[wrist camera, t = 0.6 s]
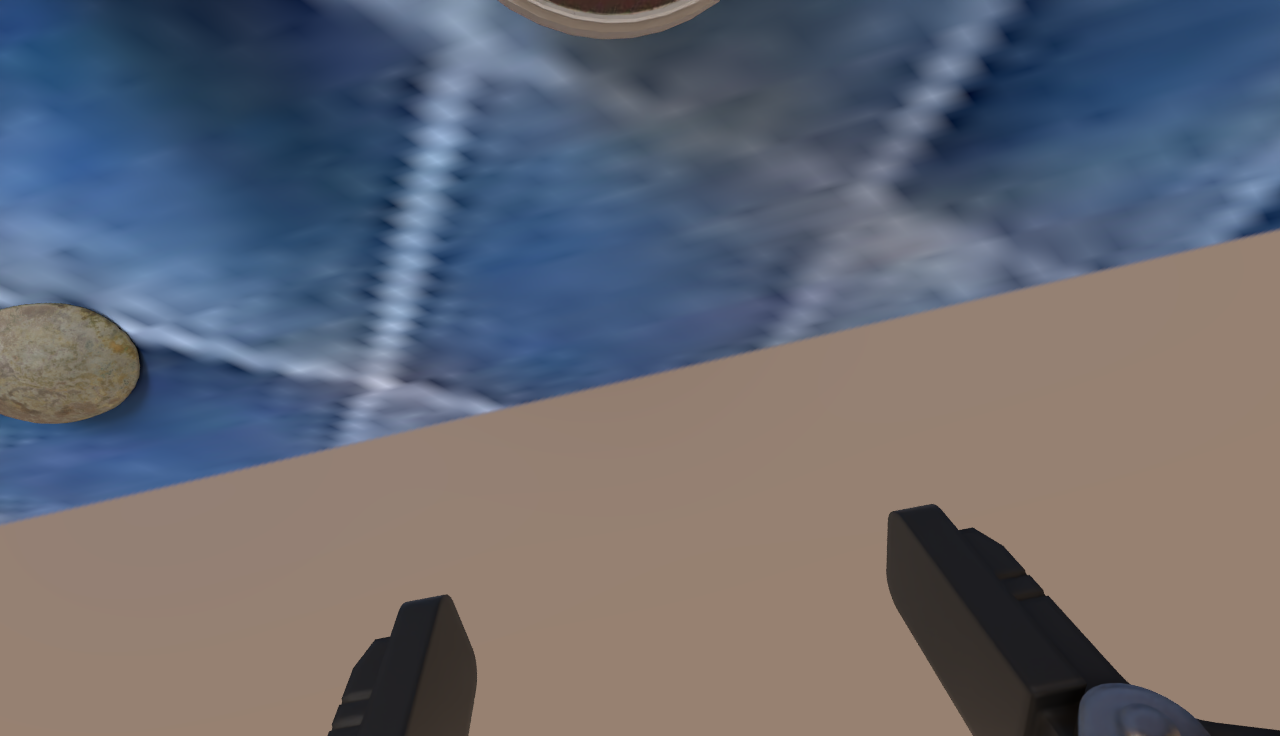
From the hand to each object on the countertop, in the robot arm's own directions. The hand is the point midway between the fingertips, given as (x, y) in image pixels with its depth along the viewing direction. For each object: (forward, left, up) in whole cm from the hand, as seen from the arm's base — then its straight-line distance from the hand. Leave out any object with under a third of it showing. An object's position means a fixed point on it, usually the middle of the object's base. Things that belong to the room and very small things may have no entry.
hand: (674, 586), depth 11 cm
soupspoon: (+17, -32, -23) cm, 43 cm away
